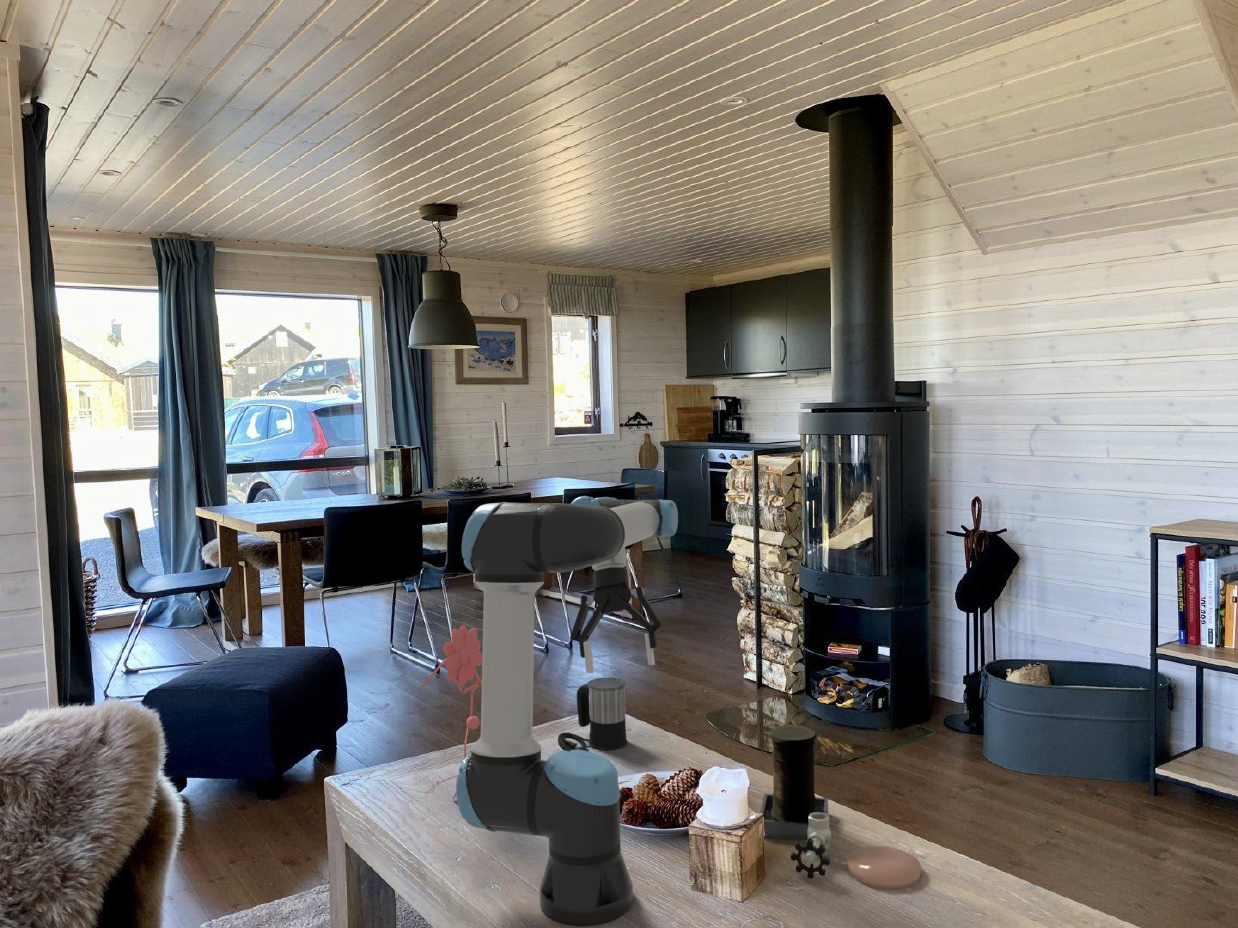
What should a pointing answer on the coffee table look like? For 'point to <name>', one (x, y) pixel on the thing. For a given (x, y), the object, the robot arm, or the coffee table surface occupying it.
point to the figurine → (462, 667)
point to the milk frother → (600, 715)
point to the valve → (814, 845)
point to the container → (793, 773)
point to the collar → (788, 828)
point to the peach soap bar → (884, 867)
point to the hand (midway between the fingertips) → (620, 669)
